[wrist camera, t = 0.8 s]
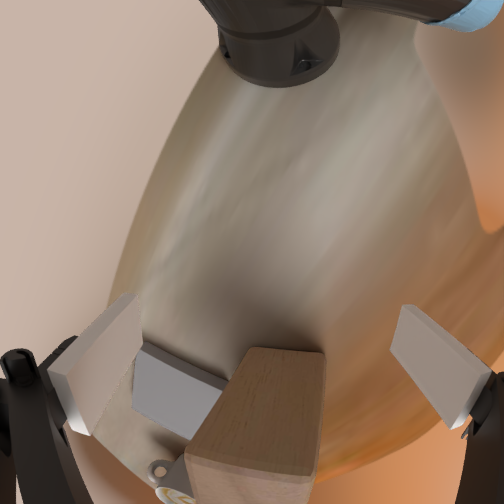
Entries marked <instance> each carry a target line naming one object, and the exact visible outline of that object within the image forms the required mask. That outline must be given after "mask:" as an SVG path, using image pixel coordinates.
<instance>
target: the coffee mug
mask: <svg viewBox="0 0 504 504" xmlns="http://www.w3.org/2000/svg"><path fill="white" fill-rule="evenodd" d="M157 467H164V468H165V469H166V470H167V472H166V474H165V475H164V476H163V477H157V476H155V474H154V471H155V469H156V468H157ZM147 476H148V478H149V479H150V480H151V481H153V482H154V483H156V484H157V485H158V486H157V488H156V489H155V492H156V494H157V496H158V497H159V498H160V500H162V501H163V502H164V503H165V504H196V501H195V498H194V494H193V491H192V487H191V483H190V480H189V476H188V472H187V468H186V464H185V460H184V453H183V454H181V455H180V456H179V457H178V459H177V460H176V461H174V462H171V461H166V460H156V461H154V462H152V463H151V464H150V466H149V467H148V470H147Z"/></svg>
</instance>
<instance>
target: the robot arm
mask: <svg viewBox="0 0 504 504" xmlns="http://www.w3.org/2000/svg"><path fill="white" fill-rule="evenodd" d="M199 1H200V2H201V3H202V5H203V6H204V7H205V9H206V10H207V11H208V12H209V14H210V15H211V16H212V18H213V19H214V20H215V22H216V23H217V25H218V36H219V46H220V50H221V53H222V56H223V58H224V59H225V61H226V62H227V64H228V65H229V66H230V68H231V69H232V70H233V71H234V72H235V73H236V74H237V75H238V76H240V77H241V78H243V79H244V80H246V81H248V82H250V83H253V84H256V85H259V86H264V87H273V88H283V87H292V86H297V85H301V84H304V83H306V82H309V81H311V80H313V79H315V78H317V77H319V76H320V75H322V74H323V73H324V72H325V71H327V70H328V69H329V68H330V66H331V65H332V64H333V63H334V61H335V59H336V57H337V55H338V52H339V46H340V34H339V28H338V25H337V23H336V20H335V19H334V17H333V16H332V14H331V12H330V11H329V9H328V8H327V6H335V7H344V8H354V9H362V10H370V11H376V12H383V13H388V14H393V15H398V16H402V17H406V18H410V19H414V20H418V21H420V22H422V23H425V24H427V25H438V26H442V27H446V28H449V29H453V30H456V31H461V32H472V31H474V30H476V29H481V28H483V27H485V26H486V25H488V24H489V23H490V22H491V21H492V20H493V19H494V18H495V17H496V16H497V14H498V13H499V11H500V9H501V7H502V5H503V3H504V0H199ZM142 345H143V338H142V330H141V321H140V311H139V299H138V294H132V293H123V294H122V295H121V296H120V297H119V298H118V299H116V300H115V301H114V302H113V303H112V304H111V305H110V306H109V307H108V308H107V309H106V310H105V311H104V312H103V313H102V314H101V315H100V316H99V317H98V318H97V319H96V320H95V321H94V322H93V323H92V324H91V325H90V326H89V327H88V328H87V329H86V330H85V331H84V332H83V333H82V334H81V335H80V336H72V337H70V338H68V339H66V340H65V341H64V342H63V343H61V344H60V345H59V346H58V349H57V348H56V349H55V350H54V351H53V352H52V354H50V355H49V356H48V357H47V358H46V359H45V360H44V361H43V363H41V364H40V365H39V366H38V367H37V365H36V362H35V359H34V356H33V353H32V352H31V351H29V350H27V349H23V348H21V349H14V350H10V351H8V352H6V353H5V354H4V355H3V356H2V357H1V359H0V365H1V367H2V370H3V372H4V375H5V377H6V379H2V378H0V504H16V474H17V479H18V484H19V488H20V492H21V496H22V500H23V503H24V504H94V503H93V501H92V499H91V497H90V495H89V493H88V490H87V488H86V486H85V484H84V481H83V479H82V477H81V474H80V472H79V469H78V467H77V464H76V461H75V459H74V456H73V453H72V450H71V448H70V445H69V442H68V439H67V435H66V432H65V430H64V428H63V424H64V423H65V421H66V420H68V422H69V424H70V426H71V428H72V430H74V431H77V432H79V433H82V434H85V435H89V436H90V435H91V434H92V432H93V430H94V428H95V426H96V424H97V423H98V421H99V419H100V417H101V415H102V413H103V412H104V410H105V408H106V406H107V405H108V403H109V401H110V399H111V397H112V396H113V394H114V392H115V390H116V389H117V387H118V385H119V384H120V382H121V380H122V378H123V377H124V375H125V373H126V372H127V370H128V368H129V366H130V365H131V363H132V361H133V360H134V358H135V356H136V355H137V353H138V351H139V350H140V348H141V346H142ZM390 351H391V353H392V354H393V355H394V356H395V358H396V359H397V360H398V361H399V363H400V364H401V365H402V366H403V368H404V369H405V370H406V372H407V373H408V374H409V375H410V377H411V378H412V379H413V381H414V382H415V383H416V385H417V386H418V387H419V389H420V390H421V391H422V392H423V394H424V395H425V396H426V398H427V399H428V400H429V402H430V403H431V405H432V406H433V407H434V409H435V410H436V411H437V413H438V414H439V415H440V417H441V418H442V419H443V421H444V422H445V424H446V425H447V426H448V428H449V429H450V430H451V429H453V428H456V427H459V426H461V425H463V423H464V422H465V420H466V419H467V417H468V415H469V414H470V415H471V416H472V418H473V419H472V421H471V422H470V424H469V425H468V427H467V428H466V430H465V431H464V433H463V434H462V436H461V438H462V439H463V438H464V436H465V435H466V434H468V436H467V438H466V440H467V448H466V454H465V460H464V466H463V471H462V476H461V480H460V485H459V489H458V493H457V497H456V501H455V504H504V372H499V373H498V374H496V373H495V372H493V370H491V369H490V368H489V367H488V366H487V365H486V364H485V363H484V362H482V361H481V360H480V359H479V358H478V357H477V356H476V355H474V354H473V353H472V352H471V351H470V350H469V349H468V348H466V347H465V346H464V345H462V344H461V343H460V342H459V341H458V340H456V339H455V338H454V337H453V336H452V335H451V334H449V333H448V332H447V331H446V330H445V329H443V328H442V327H441V326H440V325H438V324H437V323H436V322H435V321H434V320H432V319H431V318H430V317H429V316H427V315H426V314H425V313H424V312H422V311H421V310H420V309H419V308H417V307H416V306H415V305H414V304H412V305H402V308H401V312H400V316H399V320H398V323H397V327H396V331H395V334H394V338H393V341H392V344H391V348H390Z"/></svg>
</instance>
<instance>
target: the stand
mask: <svg viewBox="0 0 504 504" xmlns="http://www.w3.org/2000/svg"><path fill="white" fill-rule="evenodd" d="M227 384H228V381H226V380H224V379H222V378H219V377H217V376H215V375H212V374H210V373H208V372H206V371H204V370H202V369H199V368H197V367H195V366H193V365H191V364H189V363H187V362H185V361H183V360H181V359H179V358H177V357H175V356H173V355H171V354H169V353H167V352H165V351H163V350H161V349H159V348H158V347H156V346H154V345H152V344H150V343H148V342H147V341H146V342H144V343H143V345H142V346H141V348H140V350H139V351H138V353H137V355H136V360H135V370H134V381H133V394H132V409H134V410H135V411H137V412H139V413H140V414H142V415H144V416H145V417H147V418H149V419H150V420H152V421H154V422H156V423H157V424H159V425H161V426H163V427H165V428H167V429H168V430H170V431H172V432H174V433H176V434H178V435H180V436H182V437H184V438H186V439H188V440H190V441H191V439H192V438H193V436H194V435H195V433H196V432H197V430H198V429H199V427H200V426H201V424H202V423H203V421H204V420H205V418H206V417H207V415H208V413H209V412H210V410H211V409H212V407H213V406H214V404H215V403H216V401H217V400H218V398H219V396H220V395H221V393H222V392H223V390H224V389H225V387H226V385H227Z"/></svg>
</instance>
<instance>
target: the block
mask: <svg viewBox="0 0 504 504" xmlns="http://www.w3.org/2000/svg"><path fill="white" fill-rule="evenodd" d="M325 380H326V358H325V355H324V354H322V353H318V352H304V351H293V350H282V349H272V348H263V347H251V348H249V350H248V351H247V353H246V355H245V356H244V358H243V360H242V361H241V363H240V365H239V366H238V368H237V369H236V371H235V373H234V374H233V376H232V377H231V379H230V381H229V382H228V384H227V385H226V387H225V389H224V390H223V392H222V393H221V395H220V396H219V398H218V400H217V401H216V403H215V404H214V406H213V407H212V409H211V410H210V412H209V413H208V415H207V417H206V418H205V420H204V421H203V423H202V424H201V426H200V427H199V429H198V430H197V432H196V433H195V435H194V436H193V438H192V439H191V441H190V442H189V443H188V445H187V446H186V448H185V450H184V460H185V464H186V468H187V472H188V476H189V480H190V483H191V487H192V491H193V494H194V498H195V501H196V504H307V502H308V499H309V496H310V493H311V490H312V487H313V484H314V480H315V477H316V472H317V465H318V457H319V449H320V440H321V430H322V420H323V408H324V395H325Z"/></svg>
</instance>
